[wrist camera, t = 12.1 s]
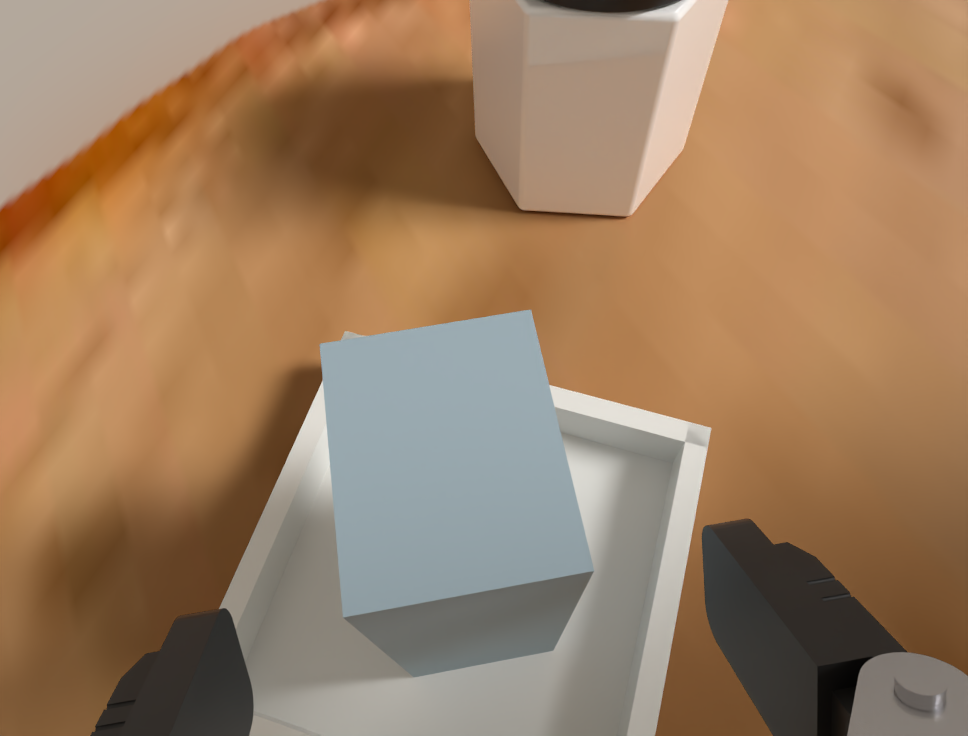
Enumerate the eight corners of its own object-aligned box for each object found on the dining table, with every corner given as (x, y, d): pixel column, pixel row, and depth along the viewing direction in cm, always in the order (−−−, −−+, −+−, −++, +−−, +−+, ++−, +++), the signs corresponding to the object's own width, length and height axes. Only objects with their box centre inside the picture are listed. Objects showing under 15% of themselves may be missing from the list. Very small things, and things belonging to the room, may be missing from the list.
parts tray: (357, 365, 27) (345, 331, 25) (693, 456, 25) (711, 427, 23) (203, 719, 22) (170, 716, 20) (614, 869, 20) (628, 883, 18)
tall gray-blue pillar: (519, 486, 24) (530, 309, 15) (553, 650, 22) (594, 570, 12) (392, 508, 24) (319, 343, 14) (413, 677, 22) (342, 617, 12)
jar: (715, 185, 31) (828, -112, 20) (540, 253, 30) (563, -27, 19) (611, 52, 35) (659, -258, 24) (451, 107, 33) (428, -196, 23)
